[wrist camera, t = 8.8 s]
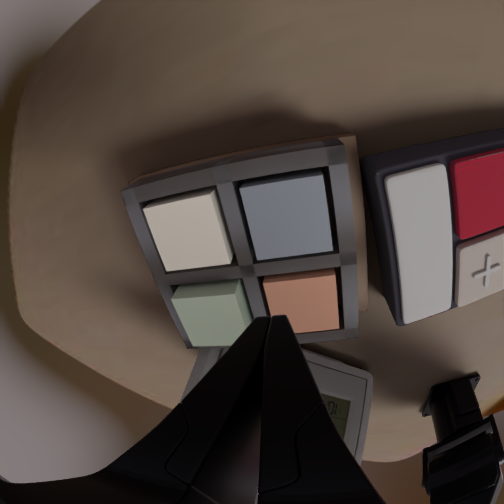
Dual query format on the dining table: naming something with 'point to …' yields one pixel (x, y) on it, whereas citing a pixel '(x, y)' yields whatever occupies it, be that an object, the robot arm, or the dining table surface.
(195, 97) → the dining table surface
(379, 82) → the dining table surface
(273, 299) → the key terracotta
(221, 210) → the key cream
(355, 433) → the digital clock
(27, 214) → the dining table surface
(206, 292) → the key sage
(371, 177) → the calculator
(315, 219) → the key slate
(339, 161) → the keypad
